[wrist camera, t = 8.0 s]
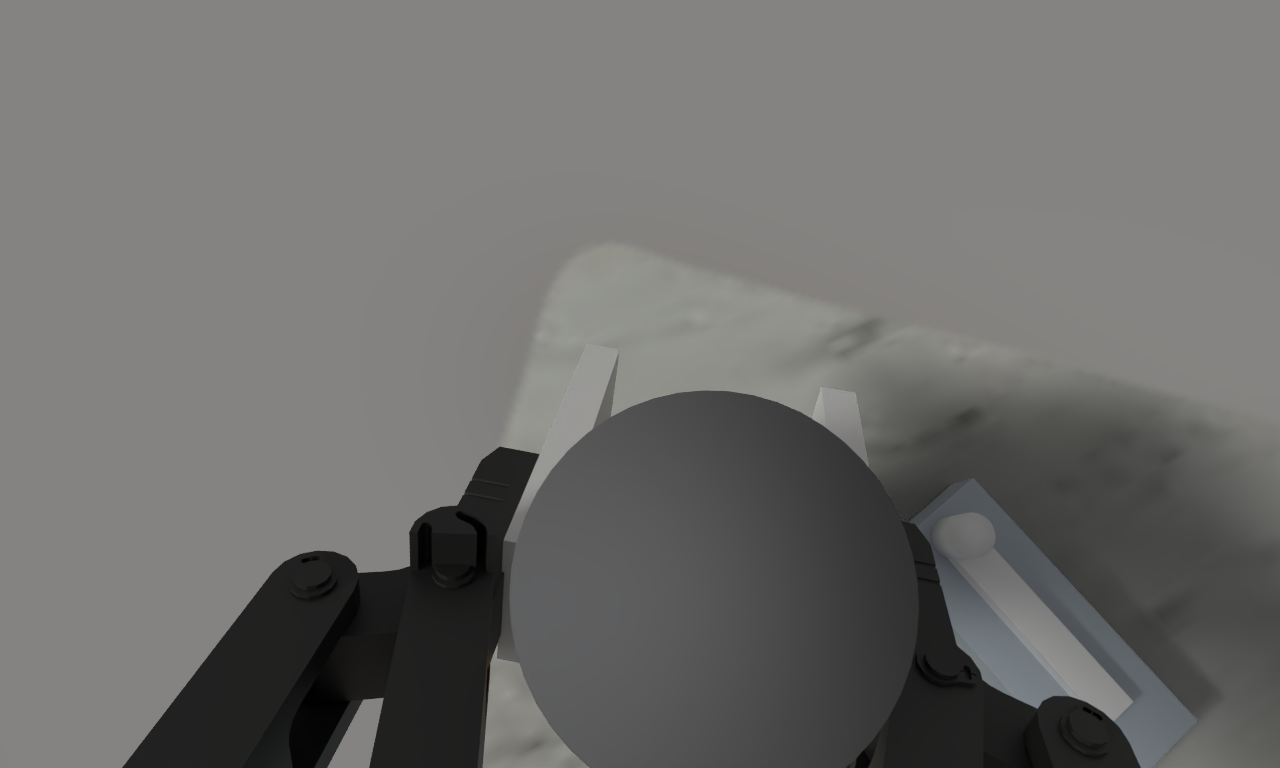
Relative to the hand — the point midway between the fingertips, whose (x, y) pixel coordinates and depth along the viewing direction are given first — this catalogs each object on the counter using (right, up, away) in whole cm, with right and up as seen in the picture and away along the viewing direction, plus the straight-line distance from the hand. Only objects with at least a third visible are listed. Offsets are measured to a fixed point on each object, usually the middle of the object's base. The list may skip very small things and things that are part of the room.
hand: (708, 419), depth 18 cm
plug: (-1, -5, +3) cm, 6 cm away
